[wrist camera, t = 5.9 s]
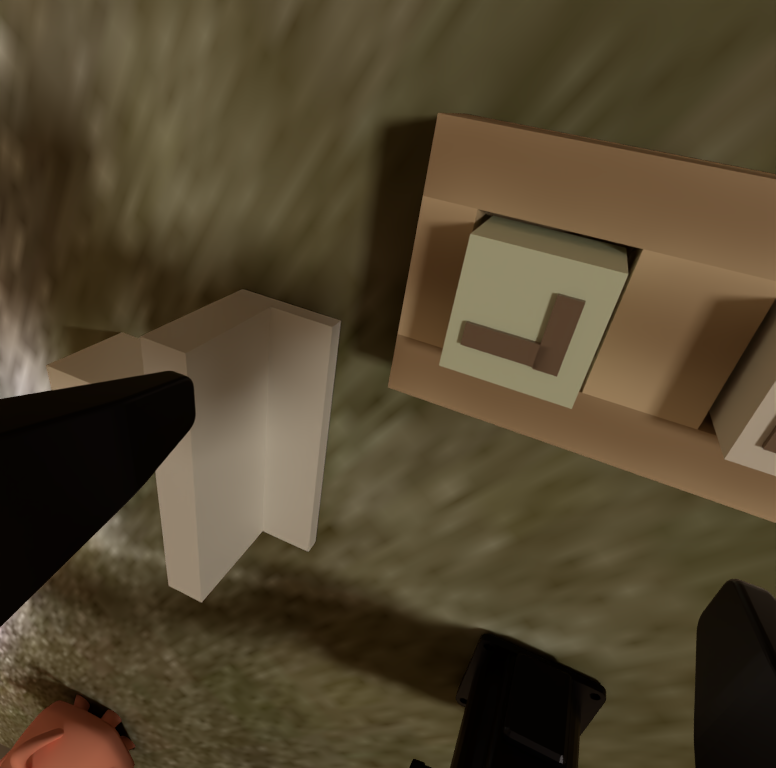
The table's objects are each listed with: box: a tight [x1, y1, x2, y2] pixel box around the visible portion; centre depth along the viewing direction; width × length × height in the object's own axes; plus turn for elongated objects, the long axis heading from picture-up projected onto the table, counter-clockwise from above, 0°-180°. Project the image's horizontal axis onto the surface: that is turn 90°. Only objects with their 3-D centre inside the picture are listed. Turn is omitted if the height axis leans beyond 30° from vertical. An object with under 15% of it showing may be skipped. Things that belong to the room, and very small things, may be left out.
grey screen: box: [140, 289, 341, 603], centre depth 23 cm, size 14×5×6 cm, turn 170°
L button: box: [439, 215, 628, 409], centre depth 15 cm, size 4×4×3 cm
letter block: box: [46, 332, 144, 390], centre depth 26 cm, size 4×4×5 cm
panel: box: [388, 113, 776, 523], centre depth 15 cm, size 9×16×3 cm, turn 80°
